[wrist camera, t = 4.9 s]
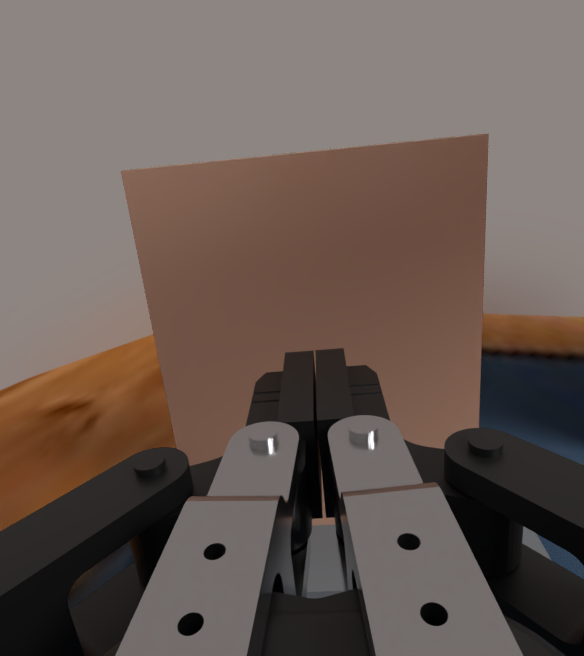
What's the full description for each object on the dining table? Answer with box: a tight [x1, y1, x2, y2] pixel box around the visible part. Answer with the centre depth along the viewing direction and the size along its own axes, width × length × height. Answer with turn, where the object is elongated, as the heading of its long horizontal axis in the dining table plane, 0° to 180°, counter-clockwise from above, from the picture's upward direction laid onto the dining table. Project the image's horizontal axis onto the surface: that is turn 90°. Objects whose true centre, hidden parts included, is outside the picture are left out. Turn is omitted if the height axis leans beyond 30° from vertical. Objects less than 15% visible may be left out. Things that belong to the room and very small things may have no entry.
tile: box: [121, 134, 488, 526], centre depth 20 cm, size 2×12×15 cm, turn 88°
